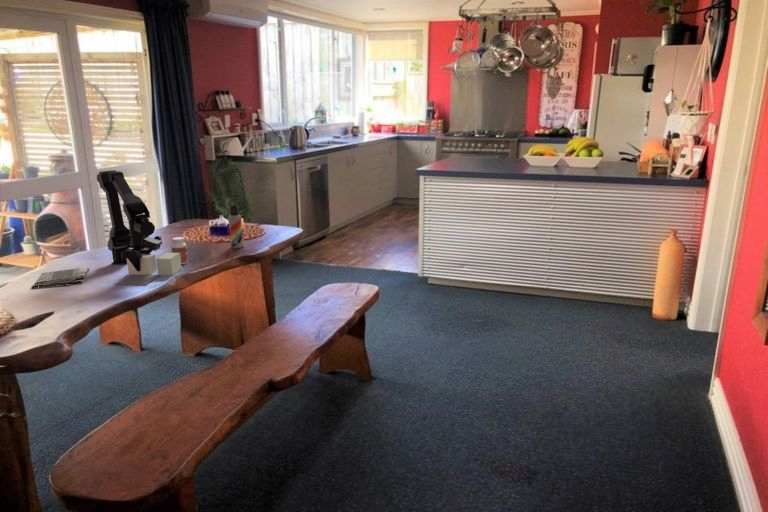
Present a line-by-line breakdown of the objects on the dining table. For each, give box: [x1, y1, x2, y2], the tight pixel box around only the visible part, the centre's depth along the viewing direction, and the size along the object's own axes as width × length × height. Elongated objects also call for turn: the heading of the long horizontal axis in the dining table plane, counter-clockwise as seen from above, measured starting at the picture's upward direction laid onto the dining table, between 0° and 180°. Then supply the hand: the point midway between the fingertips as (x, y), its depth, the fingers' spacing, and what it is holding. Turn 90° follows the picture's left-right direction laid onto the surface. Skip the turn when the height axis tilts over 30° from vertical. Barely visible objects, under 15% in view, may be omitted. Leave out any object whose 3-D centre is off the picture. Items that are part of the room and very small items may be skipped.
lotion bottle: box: [228, 205, 244, 249], centre depth 265 cm, size 6×6×20 cm
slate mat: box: [115, 274, 161, 286], centre depth 219 cm, size 12×12×1 cm
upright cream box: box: [126, 253, 158, 276], centre depth 228 cm, size 9×6×7 cm, turn 87°
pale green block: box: [156, 252, 183, 277], centre depth 228 cm, size 9×6×7 cm, turn 177°
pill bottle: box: [170, 236, 189, 265], centre depth 240 cm, size 6×6×11 cm
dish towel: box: [31, 267, 90, 289], centre depth 221 cm, size 19×18×3 cm
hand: (142, 268), depth 228 cm, fingers closed on upright cream box, 6 cm apart
